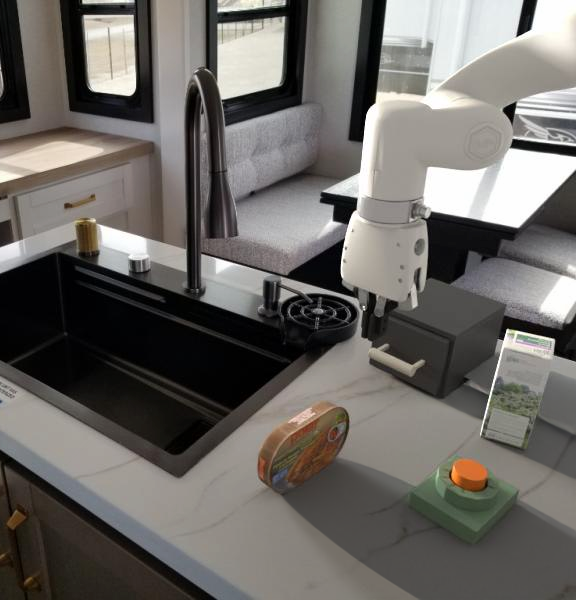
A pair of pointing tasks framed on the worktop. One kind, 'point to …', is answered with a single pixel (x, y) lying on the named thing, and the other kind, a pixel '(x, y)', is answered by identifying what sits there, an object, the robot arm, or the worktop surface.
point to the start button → (469, 475)
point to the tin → (302, 446)
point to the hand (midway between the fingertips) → (372, 336)
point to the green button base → (462, 503)
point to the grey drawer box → (457, 327)
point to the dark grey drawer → (411, 354)
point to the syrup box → (517, 388)
